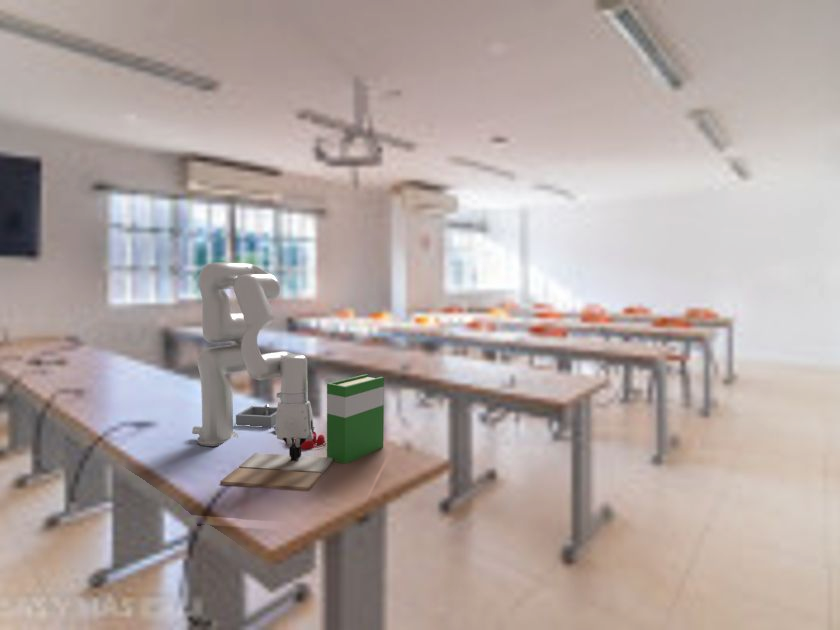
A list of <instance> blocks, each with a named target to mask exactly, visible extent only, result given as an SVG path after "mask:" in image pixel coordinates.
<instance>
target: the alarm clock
mask: <svg viewBox="0 0 840 630" xmlns="http://www.w3.org/2000/svg"><path fill="white" fill-rule="evenodd" d="M312 433H313V437H314V438H313V439H312V440H310V441H305V442H304V443H303V444H302V445H301V451H302V450H304V451H305V450H310V449H313V448H314V449H316V448H318V449H319V448H321V447H324V446H327V442H326V440H325V436H324V435H323V434H319V435H318V436H317V432H315V430H314V431H313V432H312ZM294 439H295V444H296V438H294Z"/></svg>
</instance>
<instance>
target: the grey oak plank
mask: <svg viewBox="0 0 840 630" xmlns="http://www.w3.org/2000/svg"><path fill="white" fill-rule="evenodd" d="M333 461H334V460H333V458H328V457H327V456H324V457H323V456H309V455H301V457H300V458H299V459H298V460H297V461H294V460H293V461H291V457H290V455H289V454H275V453H259V452H254V453H253V454H252V455H251V456H250V457H248V458H247V459H245V461H244V462H242V463H241V464H240V465H239V466H238V468H247V469H263V470H278V471H294V472H309V473H321V475H324V472H325V471H326V470H327V469H328V467H330V465H331V464H332V463H333Z"/></svg>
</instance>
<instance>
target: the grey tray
mask: <svg viewBox="0 0 840 630" xmlns="http://www.w3.org/2000/svg"><path fill="white" fill-rule="evenodd" d="M277 407H278V406H270V407H269V409H268V410H265V409H264V406H260V405H259V406H256V405H255V406H254V405H251V406H249V407H247V408H246V409H244V410H242V411H240V412H238V414H236V415H235V425H236V424H237V425H250V426H262V427H261V428H268V427H272V426H273V427H274V426H275V424H276V413H277ZM266 411H268V414H269V412H270V413H271V412H272V413H271V414H269V415H270V416H269V415H268V416H266ZM264 412H265V414H264ZM259 414H261V415H259ZM263 414H264V415H265V416H263ZM250 426H249V427H250ZM273 427H272V428H273Z"/></svg>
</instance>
